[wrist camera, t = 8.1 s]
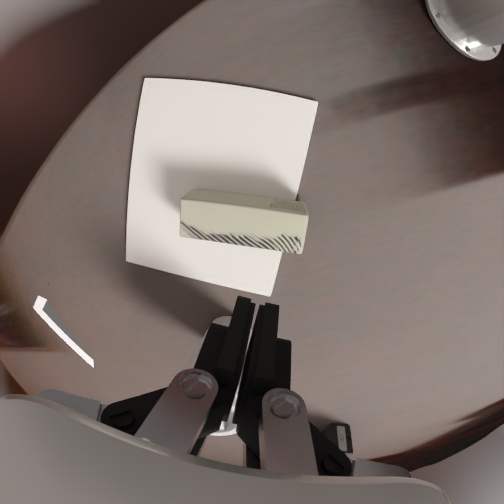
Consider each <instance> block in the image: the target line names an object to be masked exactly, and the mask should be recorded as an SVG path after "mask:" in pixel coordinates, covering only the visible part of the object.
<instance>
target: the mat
mask: <svg viewBox="0 0 504 504" xmlns="http://www.w3.org/2000/svg"><path fill="white" fill-rule="evenodd" d="M317 106H318V102H316V101H312V100H308V99H304V98H300V97H296V96H291V95H287V94H282V93H277V92H272V91H267V90H261V89H255V88H250V87H243V86H237V85H230V84H222V83H214V82H204V81H194V80H181V79H164V78H145V79H144V84H143V89H142V94H141V99H140V105H139V111H138V117H137V123H136V130H135V137H134V145H133V153H132V162H131V172H130V182H129V195H128V211H127V233H126V261H127V262H131V263H135V264H139V265H142V266H146V267H150V268H154V269H157V270H161V271H165V272H169V273H173V274H177V275H181V276H185V277H189V278H193V279H197V280H201V281H205V282H209V283H213V284H217V285H222V286H226V287H230V288H234V289H239V290H243V291H247V292H252V293H256V294H261V295H265V296H271V293H272V289H273V285H274V282H275V278H276V274H277V270H278V267H279V263H280V259H281V255H282V251H276V250H269V249H262V248H255V247H248V246H241V245H234V244H227V243H221V242H214V241H207V240H200V239H192V238H184V237H180V200H181V198H182V197H183V196H185V195H186V194H187V193H189V192H190V191H192V190H194V189H205V190H214V191H223V192H231V193H240V194H247V195H255V196H263V197H270V198H277V199H284V200H291V201H295V200H296V196H297V192H298V188H299V184H300V180H301V176H302V171H303V167H304V163H305V159H306V155H307V150H308V146H309V142H310V137H311V133H312V128H313V124H314V120H315V115H316V110H317Z"/></svg>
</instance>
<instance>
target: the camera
mask: <svg viewBox="0 0 504 504" xmlns="http://www.w3.org/2000/svg"><path fill="white" fill-rule="evenodd" d="M323 434H324V435H325V436H326V437H327V438H328V439H329V440H330V441H331V442H333V443H334V444H335V445H336V446H337V447H338V448H339V449H340V450H342V451H343V452H344V453H345V454H346V455H347V456H348V457H349V459H352V460H353V448H352V439H351V431H350V426H348V425H347V424H334V423H331V424H330V425H329V426H328V427H327V429H326V430H325V431H324V433H323Z"/></svg>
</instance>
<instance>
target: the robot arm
mask: <svg viewBox="0 0 504 504" xmlns="http://www.w3.org/2000/svg"><path fill="white" fill-rule="evenodd" d="M425 3H426V8H427V11H428V13H429V16H430V18H431V20H432V22H433V24H434V25H435V27H436V28H437V30H438V31H439V32H440V34H441V35H442V36H443V37H444V39H445V40H446V41H447V42H448V43H449V44H450V45H451V46H453V47H454V48H455V49H456V50H457V51H459V52H460V53H462V54H463V55H465V56H467V57H469V58H471V59H474V60H478V61H486V60H490V59H493V58H495V57H496V56H497V55H498V53H499V51H500V49H501V44H504V0H425ZM254 310H255V303H251V299H250V298H246V297H241V296H238V297H237V301H236V304H235V307H234V311H233V314H232V317H231V321H230V324H229V327H228V326H224V325H220V324H216V323H213V322H211V324H210V326H209V329H208V331H207V334H206V337H205V339H204V342H203V344H202V347H201V349H200V352H199V355H198V357H197V360H196V362H195V365H194V368H190V369H185V370H183V371H181V372H179V373H178V374H177V375H176V376H175V377H174V378H173V380H172V381H171V383H170V384H169V386H168V387H166V388H163V389H160V390H156V391H153V392H150V393H146V394H143V395H140V396H136V397H133V398H129V399H126V400H122V401H118V402H115V403H112V404H110V405H105V404H102V403H101V401H98V400H94V399H89V398H85V397H81V396H77V395H74V394H70V393H66V392H63V391H59V390H56V389H45V390H42V391H41V392H39V393H38V394H37V396H36V397H35V396H30V395H21V394H11V395H6V396H4V397H2V398H0V504H450V502H449V499H448V497H447V496H446V494H445V492H444V491H443V490H442V489H441V488H440V487H438V486H436V485H434V484H432V483H430V482H426V481H423V480H419V479H415V478H411V476H410V474H409V472H408V471H407V470H406V469H405V468H403V467H400V466H395V465H389V464H383V463H378V462H373V461H368V460H364V459H359V458H356V459H355V460H352V459H349V457H348V456H347V455H346V454H345V453H344V452H343V451H342V450H340V449H339V448H338V447H337V446H336V445H335V444H334V443H333V442H331V441H330V440H329V439H328V438H327V437H326V436H325V435H324V434H323V433H321V432H320V431H319V430H318V429H317V428H316V427H315V426H314V425H313V424H312V423H311V422H309V421H308V415H307V410H306V405H305V403H304V400H303V399H302V398H301V397H300V395H298V394H297V393H295V392H294V391H291V390H290V381H291V341H289V340H285V339H280V338H277V331H278V317H279V305H275V304H271V303H267V302H266V303H265V306H264V305H260V306H259V309H258V313H257V316H256V320H255V324H254V327H253V331H252V334H251V338H250V341H249V345H248V340H249V335H250V330H251V325H252V320H253V315H254ZM247 345H248V349H247ZM246 350H247V352H246ZM245 355H246V356H245ZM244 360H245V361H244ZM241 374H242V375H241ZM240 378H241V380H240ZM239 381H240V385H239V390H238V395H237V400H236V405H235V409H234V414H233V419H232V423H233V424H237V427H236V432H237V435H238V436H239V437H240V438H241V439H242V441H243V442H244V443H243V467H242V466H237V465H232V464H227V463H222V462H218V461H213V460H209V459H205V458H201V457H199V455H200V453H201V451H202V448H203V446H204V444H205V442H206V440H207V438H208V435H210V434H212V433H214V432H217V431H219V430H220V426H221V422H222V421H224V422H227V421H228V418H229V415H230V411H231V408H232V405H233V401H234V398H235V395H236V391H237V388H238V384H239Z"/></svg>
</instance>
